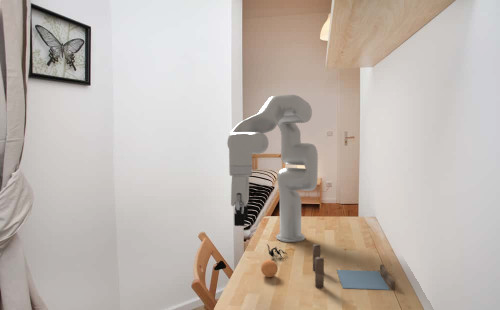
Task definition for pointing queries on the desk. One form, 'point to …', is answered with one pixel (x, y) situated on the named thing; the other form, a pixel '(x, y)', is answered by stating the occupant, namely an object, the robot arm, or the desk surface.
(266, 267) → the ball
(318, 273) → the post near camera
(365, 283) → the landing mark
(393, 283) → the wall
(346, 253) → the desk surface
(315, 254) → the post near arm
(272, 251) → the creature
